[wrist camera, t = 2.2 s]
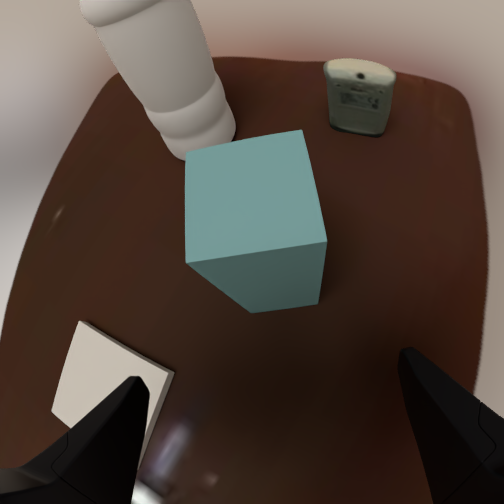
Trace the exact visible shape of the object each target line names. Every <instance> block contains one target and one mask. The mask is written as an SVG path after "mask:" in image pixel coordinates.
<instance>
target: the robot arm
mask: <svg viewBox="0 0 504 504" xmlns="http://www.w3.org/2000/svg"><path fill="white" fill-rule="evenodd" d="M398 374H399V378H400V383H401V387H402V392H403V397H404V401H405V406H406V410H407V414H408V417H409V420H410V423H411V426H412V429H413V432H414V435H415V439H416V442H417V445H418V448H419V452H420V455H421V459H422V462H423V466H424V469H425V473H426V476H427V480H428V484H429V488H430V492H431V496H432V500H433V504H504V418H502V417H501V416H499V415H498V414H496V413H495V412H494V411H493V410H491V409H490V408H489V407H487V406H486V405H485V404H484V403H483V402H481V403H480V400H479V399H477V398H476V397H475V396H474V395H473V394H471V393H470V392H469V391H468V390H466V389H465V388H464V387H463V386H461V385H460V384H459V383H458V382H456V381H455V380H454V379H453V378H451V377H450V376H449V375H448V374H446V373H445V372H444V371H443V370H441V369H440V368H439V367H438V366H436V365H435V364H434V363H433V362H431V361H430V360H429V359H428V358H426V357H425V356H424V355H422V354H421V353H420V352H419V351H417V350H416V349H415V348H413V347H408V348H403V349H401V351H400V354H399V361H398ZM149 400H150V392H149V389H148V387H147V386H146V384H145V383H144V381H143V379H142V378H141V377H140V376H129V377H128V378H127V379H126V380H124V381H123V382H122V383H121V384H120V385H119V386H118V387H117V388H116V389H114V390H113V391H112V392H111V393H110V394H109V395H108V396H107V397H106V398H104V399H103V400H102V401H101V402H100V403H99V404H98V405H97V406H95V407H94V408H93V409H92V410H91V411H90V412H89V413H88V414H86V415H85V416H84V417H83V418H82V419H81V420H80V421H79V422H77V423H76V424H75V425H74V426H73V427H72V428H71V429H70V430H68V432H66V433H65V434H64V435H63V436H62V437H60V438H59V439H58V440H57V441H56V442H54V443H53V444H52V445H51V446H49V447H48V448H47V449H45V450H44V451H43V452H41V453H40V454H38V455H37V456H36V457H34V458H33V459H32V460H30V461H29V462H27V463H26V464H24V465H22V466H20V467H17V468H8V469H0V504H131V500H132V495H133V489H134V484H135V479H136V474H137V469H138V464H139V460H140V455H141V450H142V446H143V441H144V437H145V432H146V426H147V417H148V408H149Z"/></svg>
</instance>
